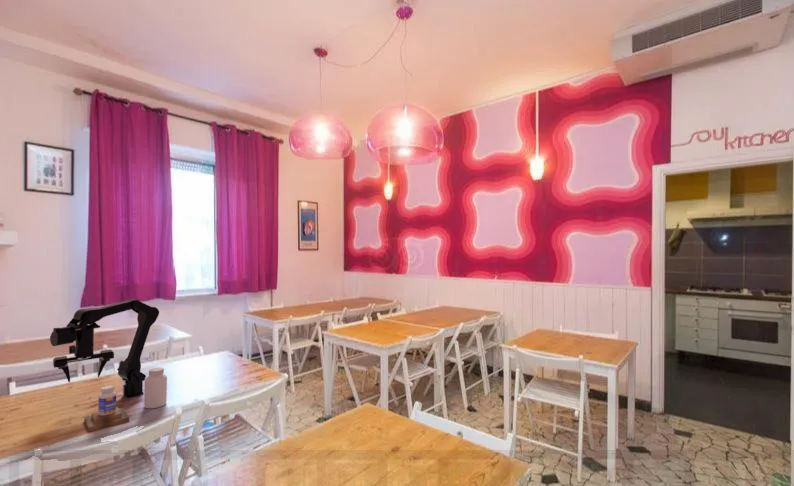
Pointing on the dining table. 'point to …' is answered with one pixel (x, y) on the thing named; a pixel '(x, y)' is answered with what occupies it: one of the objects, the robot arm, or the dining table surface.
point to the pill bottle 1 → (107, 401)
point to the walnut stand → (105, 419)
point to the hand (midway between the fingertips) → (84, 379)
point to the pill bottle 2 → (155, 388)
